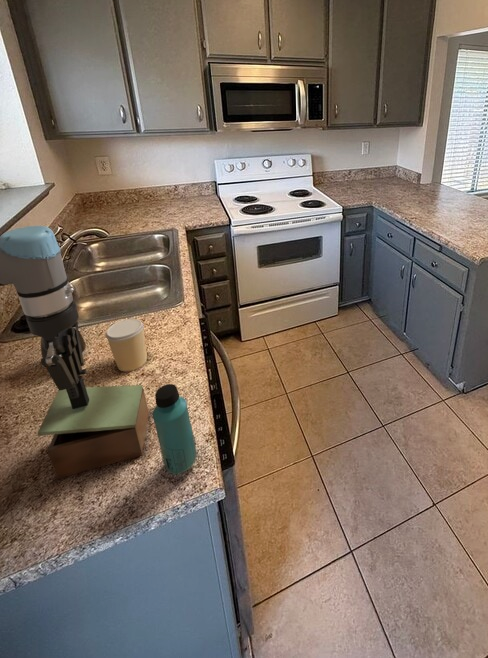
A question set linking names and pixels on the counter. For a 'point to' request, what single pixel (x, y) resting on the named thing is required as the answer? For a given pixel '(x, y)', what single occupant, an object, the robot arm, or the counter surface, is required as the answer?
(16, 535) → the counter surface
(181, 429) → the beverage bottle
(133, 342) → the coffee cup
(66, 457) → the brown wooden box
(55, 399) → the lid
